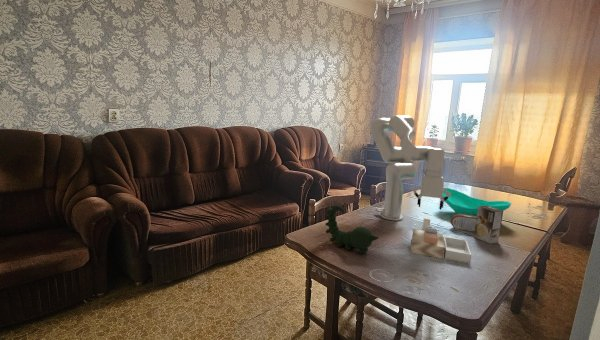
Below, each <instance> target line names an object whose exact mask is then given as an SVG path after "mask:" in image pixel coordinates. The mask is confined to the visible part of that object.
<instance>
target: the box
mask: <svg viewBox="0 0 600 340" xmlns="http://www.w3.org/2000/svg"><path fill="white" fill-rule="evenodd" d="M443 239H444V244H445V251H444V258H443V259H444V260H448V261H449V260H450V261H453V262H459V263H462V264H463V263H464V264H470V265H471V259H472V252H471V250H470V246H469V243H468V240H465V239H461V238H455V237H449V236H444V235H443Z"/></svg>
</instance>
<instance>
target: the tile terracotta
mask: <svg viewBox="0 0 600 340" xmlns="http://www.w3.org/2000/svg"><path fill="white" fill-rule="evenodd" d="M437 241H438V236H437V235H436V234H431V233H425V237H424V242H427V243H433V244H437Z"/></svg>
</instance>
